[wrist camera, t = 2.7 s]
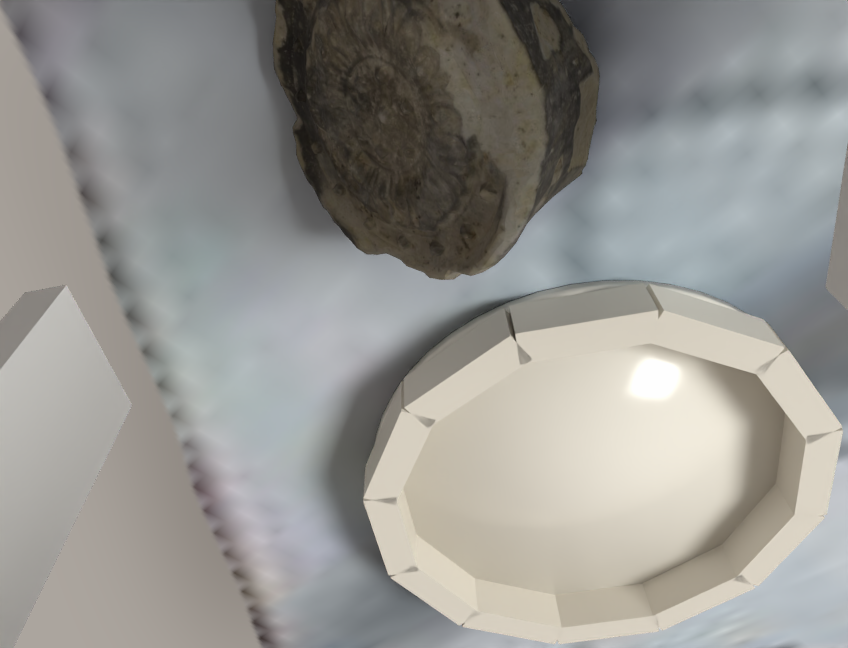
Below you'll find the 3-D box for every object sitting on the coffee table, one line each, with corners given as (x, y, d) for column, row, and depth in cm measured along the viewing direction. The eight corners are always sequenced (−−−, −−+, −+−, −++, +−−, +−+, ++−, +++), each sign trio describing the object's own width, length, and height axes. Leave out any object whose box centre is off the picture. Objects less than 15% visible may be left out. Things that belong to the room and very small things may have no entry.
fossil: (190, 2, 22) (264, -51, 14) (419, -130, 24) (611, -251, 15) (358, 274, 27) (488, 360, 19) (535, 149, 29) (728, 174, 21)
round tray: (323, 326, 30) (316, 366, 27) (834, 239, 28) (874, 274, 26) (417, 616, 41) (418, 662, 39) (783, 567, 40) (807, 612, 37)
